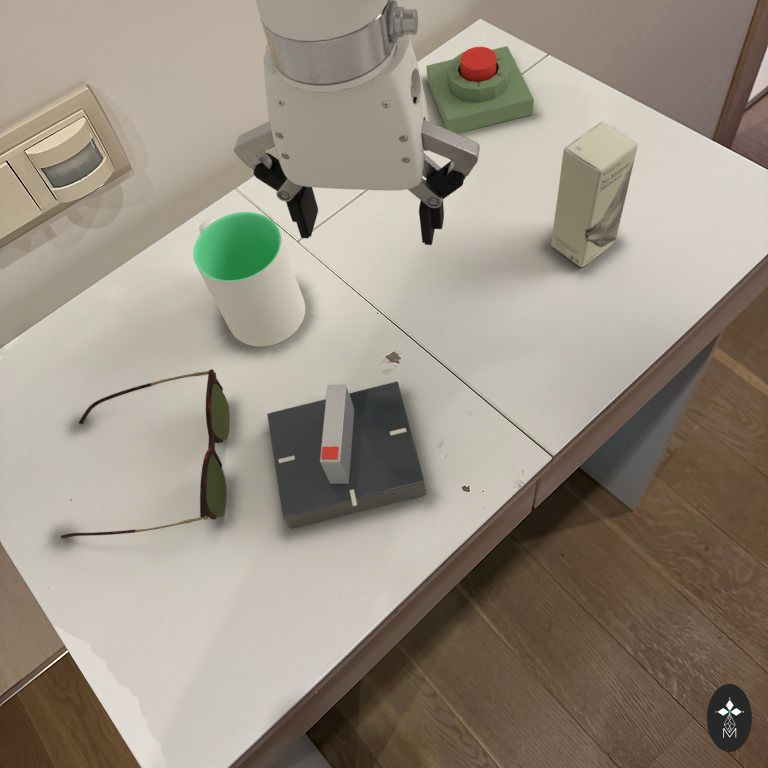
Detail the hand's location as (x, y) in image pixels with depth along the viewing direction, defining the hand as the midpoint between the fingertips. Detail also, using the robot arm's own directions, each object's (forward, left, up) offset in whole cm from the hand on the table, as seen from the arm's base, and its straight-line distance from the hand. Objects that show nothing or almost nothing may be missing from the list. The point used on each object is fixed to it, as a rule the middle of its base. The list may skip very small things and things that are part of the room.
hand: (369, 227), depth 59 cm
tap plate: (+7, +11, -16) cm, 21 cm away
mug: (+13, -9, -16) cm, 22 cm away
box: (-21, -6, -16) cm, 28 cm away
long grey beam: (+7, +11, -13) cm, 19 cm away
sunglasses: (+25, +7, -16) cm, 30 cm away
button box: (-17, -31, -16) cm, 39 cm away
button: (-17, -31, -13) cm, 37 cm away
